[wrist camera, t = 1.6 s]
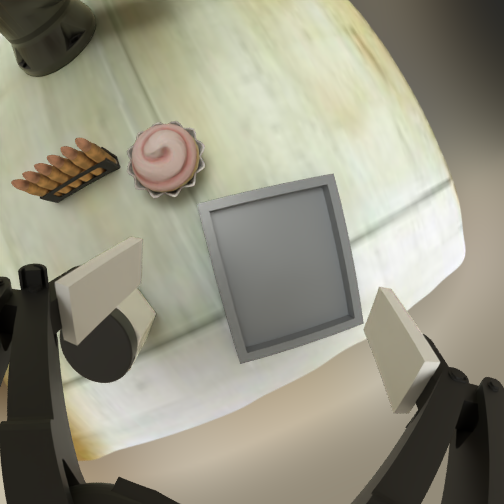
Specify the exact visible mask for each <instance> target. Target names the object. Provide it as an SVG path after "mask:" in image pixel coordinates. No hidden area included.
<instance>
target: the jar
mask: <svg viewBox="0 0 504 504" xmlns="http://www.w3.org/2000/svg"><path fill="white" fill-rule="evenodd" d="M155 316H156V312H155V311H154V310H153V308H152V307H151V306H150V304H149V303H148V302H147V300H146V299H145V298H144V296H143V295H142V294H141V292H140V291H139V290H138V288H136V289H135V290H134V291H133V292H132V293H131V294H130V295H129V296H128V297H127V298H126V299H125V300H124V301H122V302H121V303H120V304H119V305H118V306H117V307H116V308H115V309H114V310H113V311H112V312H111V313H110V314H109V315H108V316H107V317H106V318H105V319H104V320H103V321H102V322H101V323H100V324H99V325H98V326H96V327H95V328H94V329H93V330H92V331H91V332H90V333H89V334H88V335H87V336H86V337H85V338H84V339H83V340H82V341H81V342H80V343H79V344H78V345H75V344H72V343H70V342H68V341H66V340H64V338H63V333H62V328H61V329H60V344H61V348H62V351H63V354H64V356H65V358H66V359H67V361H68V363H69V364H70V365H71V366H72V368H73V369H74V370H75V371H76V372H78V373H79V374H80V375H82V376H83V377H85V378H87V379H89V380H92V381H95V382H99V383H109V382H114V381H116V380H118V379H120V378H121V377H123V376H124V375H125V374H126V373H127V372H128V371H129V370H130V369H131V367H132V365H133V363H134V361H135V360H136V358H137V356H138V354H139V352H140V351H141V349H142V347H143V345H144V343H145V342H146V339H147V336H148V334H149V331H150V328H151V326H152V323H153V321H154V318H155Z"/></svg>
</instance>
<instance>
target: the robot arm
mask: <svg viewBox="0 0 504 504" xmlns="http://www.w3.org/2000/svg"><path fill="white" fill-rule="evenodd" d="M95 27H96V19H95V17H94V15H93V13H92V11H91V9H90V8H89V7H88V6H87V5H85V4H84V3H82V2H81V1H80V0H0V33H1V34H2V35H3V36H4V37H5V38H6V39H7V40H8V41H9V42H10V43H11V44H12V47H13V51H14V54H15V57H16V60H17V63H18V65H19V66H20V68H21V69H22V70H23V71H24V72H26V73H27V74H28V75H31V76H43V75H47V74H50V73H52V72H54V71H56V70H58V69H60V68H62V67H63V66H65V65H66V64H68V63H69V62H70V61H71V60H73V59H74V58H75V57H76V56H77V55H78V54H79V53H80V52H81V51H82V50H83V49H84V48H85V46H86V45H87V44H88V42H89V41H90V39H91V38H92V36H93V33H94V31H95ZM142 249H143V239H141V238H136V237H130V238H128V239H126V240H124V241H122V242H121V243H119V244H117V245H115V246H114V247H112V248H110V249H108V250H107V251H105V252H103V253H101V254H100V255H98V256H96V257H95V258H93V259H91V260H90V261H88V262H86V263H85V264H83V265H80V266H77V267H73V268H72V269H70V270H68V271H67V273H66V272H65V273H64V274H62V275H61V276H59V277H57V278H55V279H54V280H52V281H51V282H49V283H48V276H47V268H46V267H45V266H44V265H42V264H28V265H25V266H23V267H21V268H20V269H19V271H18V273H19V280H20V286H21V290H16V289H12V287H11V282H10V279H8V278H7V277H0V386H1V383H2V381H3V378H4V375H5V372H6V370H7V367H8V364H9V376H8V399H7V416H8V417H7V421H2V422H1V423H0V456H1V466H2V476H3V483H4V490H5V496H6V501H7V504H179V503H177V502H175V501H174V500H172V499H170V498H168V497H166V496H164V495H162V494H161V493H159V492H157V491H156V490H152V489H150V488H146V487H144V486H141V485H139V484H136V483H133V482H131V481H128V480H125V479H123V478H121V477H118V479H117V481H116V483H115V484H110V483H86V482H85V480H84V478H83V475H82V473H81V471H80V468H79V464H78V461H77V457H76V453H75V449H74V445H73V441H72V437H71V432H70V427H69V423H68V417H67V412H66V406H65V400H64V394H63V387H62V379H61V371H60V361H59V349H58V338H57V332H58V331H59V330H60V329H61V328H62V333H63V338H64V340H66V341H68V342H70V343H72V344H75V345H78V344H79V343H80V342H81V341H82V340H83V339H84V338H85V337H86V336H87V335H88V334H89V333H90V332H91V331H92V330H93V329H94V328H95V327H96V326H98V325H99V324H100V323H101V322H102V321H103V320H104V319H105V318H106V317H107V316H108V315H109V314H110V313H111V312H112V311H113V310H114V309H115V308H116V307H117V306H118V305H119V304H120V303H121V302H122V301H124V300H125V299H126V298H127V297H128V296H129V295H130V294H131V293H132V292H133V291H134V290H135V289H136V288H137V287H138V286H140V285H141V277H142ZM364 332H365V335H366V337H367V340H368V342H369V345H370V348H371V350H372V353H373V356H374V358H375V361H376V364H377V366H378V369H379V372H380V375H381V378H382V381H383V383H384V386H385V389H386V392H387V395H388V398H389V401H390V404H391V407H392V410H393V413H409V412H410V411H411V409H412V408H413V406H414V405H415V403H416V405H417V407H418V411H417V412H416V414H415V415H414V417H413V418H412V419H411V421H410V422H409V423H408V425H407V426H406V430H405V432H404V433H403V435H402V436H401V438H400V439H399V441H398V443H397V444H396V445H395V447H394V448H393V450H392V451H391V453H390V455H389V456H388V457H387V459H386V460H385V461H384V463H383V464H382V466H381V467H380V468H379V470H378V471H377V472H376V474H375V475H374V476H373V478H372V479H371V480H370V481H369V483H368V484H367V485H366V486H365V488H364V489H363V490H362V491H361V492H360V494H359V495H358V496H357V497H356V499H355V500H354V501H353V502H352V503H351V504H421V502H422V501H423V499H424V497H425V495H426V493H427V491H428V489H429V487H430V485H431V483H432V481H433V479H434V477H435V475H436V473H437V471H438V469H439V467H440V464H441V462H442V460H443V457H444V455H445V453H446V450H447V448H448V445H449V443H450V446H449V456H448V465H447V473H446V479H445V485H444V491H443V497H442V502H441V504H504V388H503V386H502V385H501V383H500V382H499V381H498V380H496V379H493V378H490V377H485V378H484V379H483V380H482V382H481V383H480V385H479V386H477V385H473V384H470V383H469V380H468V378H467V376H466V375H465V374H464V373H463V372H462V371H460V370H458V369H456V368H452V367H448V365H447V363H446V362H445V360H444V359H443V357H442V356H441V354H440V353H439V351H438V349H437V348H436V347H435V345H434V343H433V342H432V341H431V339H429V338H428V337H427V336H426V335H424V334H422V333H421V331H420V330H419V328H418V327H417V325H416V324H415V322H414V321H413V319H412V318H411V316H410V315H409V313H408V312H407V310H406V309H405V307H404V306H403V305H402V303H401V302H400V300H399V299H398V298H397V296H396V295H395V293H394V292H393V291H392V289H389V288H384V287H379V289H378V292H377V295H376V298H375V301H374V303H373V306H372V309H371V311H370V314H369V317H368V319H367V322H366V325H365V327H364ZM9 362H10V363H9Z"/></svg>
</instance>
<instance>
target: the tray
mask: <svg viewBox="0 0 504 504" xmlns="http://www.w3.org/2000/svg"><path fill="white" fill-rule="evenodd" d="M197 207H198V211H199V215H200V219H201V223H202V227H203V231H204V235H205V239H206V243H207V247H208V250H209V254H210V258H211V262H212V266H213V270H214V273H215V277H216V281H217V284H218V288H219V292H220V295H221V299H222V303H223V306H224V310H225V313H226V317H227V320H228V324H229V327H230V331H231V334H232V338H233V341H234V344H235V348H236V351H237V354H238V358H239V361H240V364H242V363H245V362H249V361H253V360H256V359H260V358H263V357H267V356H270V355H273V354H277V353H280V352H283V351H286V350H290V349H293V348H296V347H299V346H302V345H305V344H308V343H311V342H314V341H317V340H320V339H323V338H326V337H328V336H331V335H334V334H337V333H339V332H342V331H345V330H348V329H350V328H353V327H355V326H358V325H361V324H363V316H362V309H361V303H360V296H359V290H358V284H357V278H356V273H355V267H354V262H353V257H352V251H351V246H350V241H349V237H348V232H347V227H346V223H345V218H344V214H343V210H342V205H341V201H340V197H339V193H338V189H337V185H336V181H335V177H334V174H329V175H323V176H318V177H313V178H308V179H303V180H298V181H293V182H288V183H283V184H279V185H274V186H269V187H265V188H260V189H256V190H251V191H247V192H243V193H238V194H234V195H230V196H226V197H222V198H218V199H214V200H210V201H206V202H202V203H198V204H197Z"/></svg>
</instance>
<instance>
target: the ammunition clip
mask: <svg viewBox="0 0 504 504" xmlns="http://www.w3.org/2000/svg"><path fill="white" fill-rule="evenodd" d="M75 142H76V145H77V146H78V147H79V148H80V149H81V150H82V151H83V152H82V151H78V150H76V149H73V148H71V147H67V146H64V147H61V152H62V154H63V155H64V156H65V157H67V158H68V159H67V158H63V157H60V156H56V155H49V156H47V160H48V161H49V163H50V164H52V165H53V166H51V165H48V164H43V163H38V164H35V165H34V167H35V169H36V170H37V171H38V172H39V173H36V172H32V171H28V172H24V173H23V174H22V175H23V177H24V178H25V179H26V180H22V179H17V180H13V181H12V182H11V183H12V185H13V186H14V187H15V188H17V189H19V190H23V191H26V192H28V193H29V194H32V195H37V196H40V199H43V200H47V201H52V202H56V203H58V202H60V201H61V200H63V199H65V198H66V197H68V196H70V195H71V194H73V193H75V192H77V191H78V190H80V189H82V188H83V187H85V186H87V185H89V184H91V183H92V182H94V181H96V180H98V179H100V178H102V177H104V176H105V175H107V174H109V173H111V172H113V171H115V170H117V169H119V168H120V165H119V162H118V159H117V156H115V155H114V154H112V153H111V152H109V151H108V150H106V149H105V148H103V147H101V148H100V147H99V146H97V145H96V144H94V143H91V142H89V141H88V140H86V139H83V138H76V139H75Z"/></svg>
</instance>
